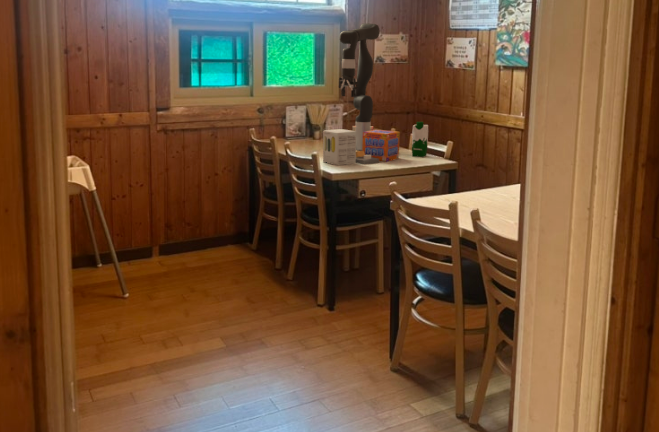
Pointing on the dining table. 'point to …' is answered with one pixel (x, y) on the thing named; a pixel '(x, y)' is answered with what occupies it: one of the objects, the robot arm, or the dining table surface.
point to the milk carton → (419, 140)
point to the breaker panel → (366, 159)
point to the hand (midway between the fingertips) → (348, 96)
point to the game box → (381, 144)
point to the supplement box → (339, 146)
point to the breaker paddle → (360, 154)
